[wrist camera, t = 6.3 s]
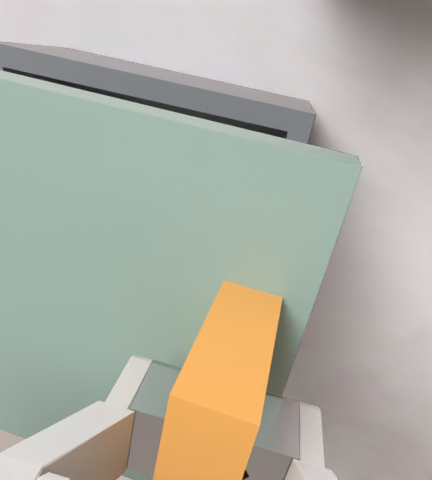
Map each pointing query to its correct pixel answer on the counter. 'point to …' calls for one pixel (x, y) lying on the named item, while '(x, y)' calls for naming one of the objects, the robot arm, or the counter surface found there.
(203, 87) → the tub
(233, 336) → the lid
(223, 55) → the counter surface
